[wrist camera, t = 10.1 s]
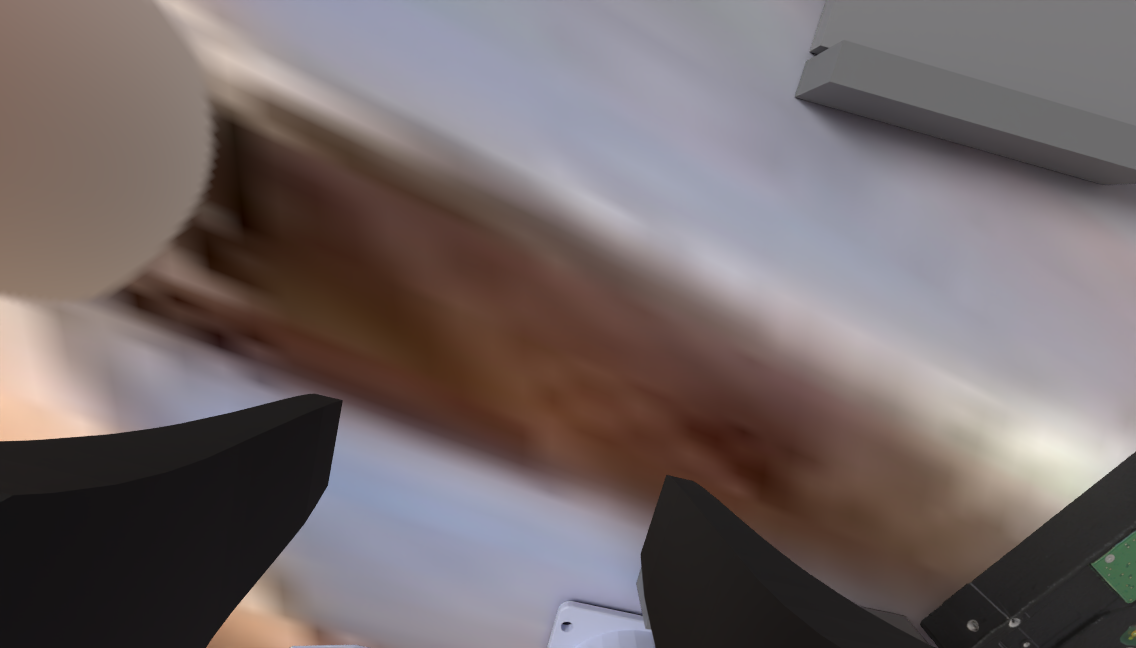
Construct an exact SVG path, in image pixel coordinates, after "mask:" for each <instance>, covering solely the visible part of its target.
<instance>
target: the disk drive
mask: <svg viewBox="0 0 1136 648" xmlns="http://www.w3.org/2000/svg"><path fill="white" fill-rule="evenodd" d="M920 625H921V627H922V628H923V629H924V630H925V632H926V633H927V634H928V635H929V636H930V638H931V639H932V640H933V641H934V642H935V644H936V645H937V646H938V647H939V648H1136V452H1135V453H1134V454H1132V455H1131V456H1130V457H1128V458H1127V459H1126V460H1125V461H1123V462H1122V463H1121V464H1120V465H1119V466H1117V467H1116V468H1115V469H1113V470H1112V471H1111V472H1109V474H1107V475H1106V476H1105V477H1103V478H1102V479H1101V480H1099V481H1098V482H1097V483H1096V484H1094V485H1093V486H1092V487H1091V488H1089V489H1088V490H1087V491H1085V492H1084V493H1083V494H1082V495H1081V496H1079V497H1078V498H1077V499H1075V500H1074V501H1073V502H1072V503H1070V504H1069V505H1068V506H1066V507H1065V508H1064V509H1063V510H1061V511H1060V512H1059V513H1058V514H1056V515H1055V516H1054V517H1052V518H1051V519H1050V520H1049V521H1048V522H1046V523H1045V524H1044V525H1043V526H1041V527H1040V528H1039V529H1037V530H1036V531H1035V532H1033V533H1032V534H1031V535H1030V536H1029V537H1027V538H1026V539H1025V540H1024V541H1022V542H1021V543H1020V544H1019V545H1018V546H1016V547H1015V548H1014V549H1013V550H1011V551H1010V552H1008V553H1007V554H1006V555H1005V556H1003V557H1002V558H1001V559H1000V560H999V561H997V562H996V563H995V564H993V565H992V566H991V567H989V568H988V569H987V570H985V571H984V572H983V573H982V574H981V575H979V576H978V577H977V578H976V579H974V580H973V581H972V582H971V583H969V584H966V585H965V586H964V587H963V588H962V589H960V590H958V591H957V592H956V593H955V594H954V595H952V596H951V597H950V598H949V599H948V600H946V601H945V602H944V603H943V604H942V606H940V607H939V608H937V609H936V610H935V611H933V612H932V613H931V614H930V615H929V616H928V617H926V618H925V619H923V620H922V621H921V624H920Z"/></svg>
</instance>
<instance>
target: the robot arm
mask: <svg viewBox="0 0 1136 648" xmlns="http://www.w3.org/2000/svg"><path fill="white" fill-rule="evenodd" d="M342 401H343V400H339V399H335V398H331V397H326V396H322V395H318V394H307V395H301V396H296V397H292V398H287V399H283V400H279V401H275V402H271V403H267V404H264V405H260V406H256V407H252V408H248V409H244V410H240V411H236V412H232V413H227V414H223V415H218V416H214V417H209V418H205V419H200V420H195V421H191V422H186V423H182V424H176V425H171V426H165V427H159V428H153V429H146V430H139V431H131V432H124V433H117V434H108V435H97V436H84V437H71V438H59V439H46V440H29V441H0V648H206V647H207V645H208V644H209V642H210V641H211V639H212V638H213V636H214V635H215V634H216V632H217V631H218V630H219V628H220V627H221V626H222V624H223V623H224V622H225V620H226V619H227V618H228V616H229V615H230V614H231V613H232V611H233V610H234V609H235V608H236V606H237V605H238V604H239V603H240V602H241V600H242V599H243V598H244V597H245V596H246V594H247V593H248V592H249V591H250V590H251V588H252V587H253V586H254V585H255V584H256V582H257V581H258V580H259V579H260V577H261V576H262V575H263V574H264V573H265V571H266V570H267V569H268V568H269V567H270V565H271V564H272V563H273V562H274V561H275V559H276V558H277V557H278V556H279V555H280V553H281V552H282V551H283V550H284V548H285V547H286V546H287V545H288V544H289V542H290V541H291V540H292V539H293V537H294V536H295V535H296V534H297V532H298V531H299V530H300V529H301V527H302V526H303V525H304V524H305V522H306V520H307V519H308V517H309V516H310V514H311V512H312V511H313V509H314V508H315V506H316V504H317V503H318V501H319V499H320V498H321V496H322V494H323V493H324V491H325V489H326V488H327V486H328V481H329V476H330V470H331V464H332V458H333V453H334V447H335V441H336V436H337V430H338V424H339V418H340V413H341V407H342ZM641 566H642V580H643V590H644V598H645V603H646V608H647V612H648V617H649V621H650V626H651V630H649V629H645V625H644V620H643V616H641V615H636V614H631V613H626V612H622V611H617V610H612V609H607V608H602V607H598V606H593V605H588V604H583V603H579V602H574V601H567V602H564V603H562V604H561V605H560V607H559V608H558V612H557V615H556V618H555V622H554V625H553V629H552V632H551V636H550V639H549V642H548V646H547V648H935V647H933V646H931V645H929V644H927V643H925V642H923V641H921V640H919V639H917V638H915V637H913V636H911V635H910V634H908V633H906V632H904V631H902V630H900V629H898V628H896V627H894V626H893V625H891V624H889V623H887V622H886V621H884V620H882V619H880V618H879V617H877V616H875V615H873V614H872V613H870V612H868V611H866V610H865V609H863V608H861V607H860V606H858V605H856V604H855V603H853V602H851V601H850V600H848V599H847V598H845V597H843V596H842V595H840V594H839V593H837V592H836V591H834V590H833V589H831V588H830V587H828V586H827V585H825V584H824V583H822V582H821V581H819V580H818V579H816V578H815V577H813V576H812V575H810V574H809V573H807V572H806V571H805V570H803V569H802V568H801V567H799V566H798V565H796V564H795V563H794V562H792V561H791V560H790V559H789V558H787V557H786V556H785V555H783V554H782V553H781V552H780V551H778V550H777V549H776V548H774V547H773V546H772V545H771V544H769V543H768V542H767V541H766V540H764V539H763V538H762V537H761V536H760V535H758V534H757V533H756V532H755V531H754V530H752V529H751V528H750V527H749V526H748V525H746V524H745V523H744V522H743V521H742V520H741V519H739V518H738V517H737V516H736V515H735V514H734V513H733V512H731V511H730V510H729V509H728V508H727V507H726V506H724V505H723V504H722V503H721V502H720V501H719V500H717V499H716V498H715V497H714V496H713V495H711V494H710V493H709V492H708V491H707V490H705V489H704V488H703V487H701V486H700V485H698V484H697V483H695V482H694V481H691V480H686V479H682V478H677V477H673V476H669V475H666V478H665V481H664V484H663V487H662V490H661V493H660V496H659V499H658V502H657V506H656V509H655V512H654V515H653V518H652V521H651V524H650V527H649V530H648V533H647V536H646V539H645V542H644V545H643V548H642V552H641ZM564 622H570V623H571V624H569V625H564V624H562V623H564ZM290 648H369V647H364V646H358V645H322V646H292V647H290Z"/></svg>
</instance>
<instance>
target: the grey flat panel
mask: <svg viewBox="0 0 1136 648" xmlns="http://www.w3.org/2000/svg"><path fill="white" fill-rule="evenodd" d="M810 52H812V53H815V54H818V55H816V56H814V57H813V58H811V59H809V60H807V61H806V64H805V67H804V70H803V73H802V76H801V79H800V82H799V85H798V88H797V91H796V95H795V97H796V98H800V99H803V100H807V101H810V102H814V103H817V104H821V105H824V106H828V107H832V108H835V109H839V110H842V111H846V112H849V113H853V114H856V115H860V116H863V117H867V118H870V119H874V120H877V121H881V122H884V123H888V124H891V125H895V126H898V127H902V128H905V129H909V130H912V131H916V132H919V133H923V134H926V135H930V136H933V137H937V138H941V139H944V140H948V141H951V142H955V143H958V144H962V145H965V146H969V147H972V148H976V149H979V150H983V151H986V152H990V153H993V154H997V155H1000V156H1004V157H1007V158H1011V159H1014V160H1018V161H1021V162H1025V163H1028V164H1032V165H1035V166H1039V167H1042V168H1046V169H1050V170H1053V171H1057V172H1060V173H1064V174H1067V175H1071V176H1074V177H1078V178H1081V179H1085V180H1088V181H1092V182H1095V183H1099V184H1102V185H1113V184H1136V0H826V2H825V5H824V9H823V12H822V15H821V18H820V21H819V24H818V27H817V30H816V33H815V36H814V39H813V42H812V45H811V48H810ZM636 585H637V590H638V595H639V600H640V605H641V610H642V615H643V620H644V625H645V629H649V630H651V626H650V621H649V617H648V612H647V608H646V603H645V598H644V590H643V580H642V567H641V571H640V574H639V577H638V580H637V583H636ZM861 608H863V609H865V610H866V611H868V612H870V613H872V614H873V615H875V616H877V617H879V618H880V619H882V620H884V621H886V622H887V623H889V624H891V625H893V626H894V627H896V628H898V629H900V630H902V631H904V632H906V633H908V634H910V635H911V636H913V637H915V638H917V639H919V640H921V641H923V642H925V643H927V642H926V641H925V639H924V638H923V637H922V636H921V635H920V633H919V632H918V631H917V630H916V629H915V627H914V626H913V625H912V624H911V623H910V621H909V620H908V619H907V618H906V617H905V616H902V615H897V614H893V613H888V612H883V611H879V610H874V609H870V608H865V607H861ZM927 644H928V643H927Z"/></svg>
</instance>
